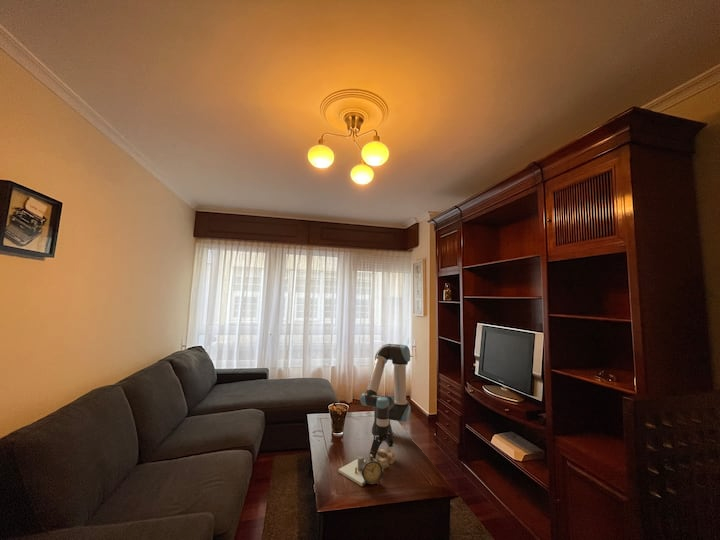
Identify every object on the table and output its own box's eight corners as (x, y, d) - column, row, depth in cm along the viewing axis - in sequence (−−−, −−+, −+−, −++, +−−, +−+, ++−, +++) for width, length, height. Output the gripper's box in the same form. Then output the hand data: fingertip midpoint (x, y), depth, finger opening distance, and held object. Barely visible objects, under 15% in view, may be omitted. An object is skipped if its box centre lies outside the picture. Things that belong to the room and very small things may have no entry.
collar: (369, 461, 173) (369, 454, 174) (380, 455, 181) (380, 448, 182) (383, 469, 166) (383, 461, 166) (395, 461, 174) (395, 454, 174)
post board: (360, 459, 175) (360, 446, 176) (383, 472, 163) (383, 457, 164) (338, 472, 162) (338, 458, 163) (361, 486, 150) (361, 471, 151)
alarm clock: (362, 488, 148) (363, 454, 150) (360, 481, 154) (360, 449, 155) (382, 485, 151) (383, 452, 153) (379, 479, 156) (380, 447, 158)
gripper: (389, 417, 187) (389, 452, 185) (364, 428, 169) (363, 467, 167) (399, 420, 182) (399, 456, 180) (374, 432, 164) (373, 472, 162)
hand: (382, 461), depth 173 cm, fingers open, 13 cm apart
